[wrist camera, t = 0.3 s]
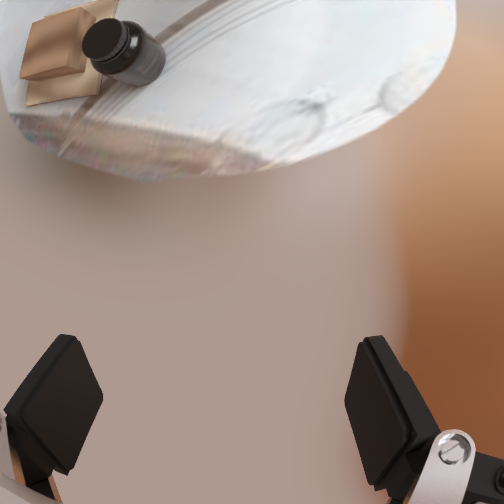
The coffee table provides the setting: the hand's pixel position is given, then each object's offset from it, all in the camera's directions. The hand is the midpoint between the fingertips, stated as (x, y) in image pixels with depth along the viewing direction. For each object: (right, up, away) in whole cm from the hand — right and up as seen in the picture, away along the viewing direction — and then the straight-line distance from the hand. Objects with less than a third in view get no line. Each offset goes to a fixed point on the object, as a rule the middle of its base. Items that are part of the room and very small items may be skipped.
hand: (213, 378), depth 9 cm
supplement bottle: (-13, +29, +22) cm, 38 cm away
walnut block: (-26, +33, +18) cm, 46 cm away
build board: (-26, +34, +19) cm, 46 cm away
